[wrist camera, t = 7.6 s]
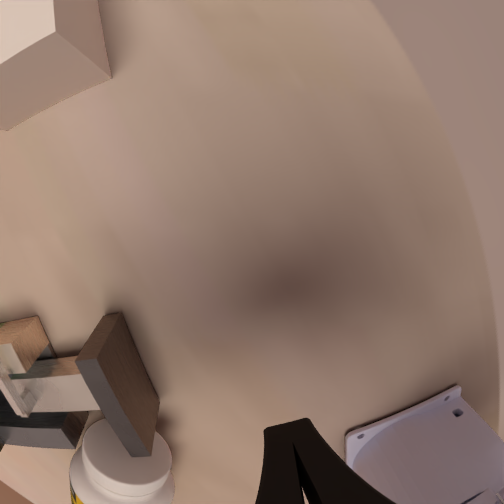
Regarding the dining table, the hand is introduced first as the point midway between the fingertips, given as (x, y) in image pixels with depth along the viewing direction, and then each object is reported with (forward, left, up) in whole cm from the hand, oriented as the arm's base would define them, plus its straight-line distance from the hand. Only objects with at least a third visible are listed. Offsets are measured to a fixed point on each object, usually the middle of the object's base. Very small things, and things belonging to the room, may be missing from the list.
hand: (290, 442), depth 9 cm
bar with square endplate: (+10, 0, -7) cm, 12 cm away
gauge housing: (+14, 0, -7) cm, 16 cm away
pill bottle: (+14, +13, -4) cm, 19 cm away
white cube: (+7, -16, -7) cm, 19 cm away
